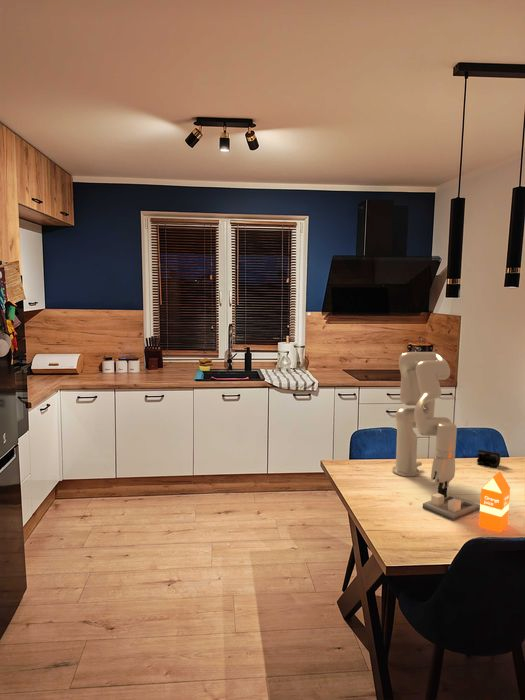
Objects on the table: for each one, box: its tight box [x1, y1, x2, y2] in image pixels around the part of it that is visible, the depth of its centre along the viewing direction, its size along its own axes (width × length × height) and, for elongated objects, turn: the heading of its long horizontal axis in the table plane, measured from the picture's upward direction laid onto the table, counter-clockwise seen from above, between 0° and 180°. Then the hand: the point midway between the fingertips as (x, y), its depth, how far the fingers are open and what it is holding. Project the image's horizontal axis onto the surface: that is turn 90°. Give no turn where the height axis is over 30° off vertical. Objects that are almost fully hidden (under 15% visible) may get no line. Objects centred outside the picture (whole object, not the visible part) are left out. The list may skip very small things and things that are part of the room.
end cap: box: [476, 449, 502, 469], centre depth 258 cm, size 10×7×7 cm
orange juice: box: [478, 471, 511, 533], centre depth 189 cm, size 8×9×20 cm
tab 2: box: [448, 498, 461, 513], centre depth 199 cm, size 4×3×4 cm
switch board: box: [422, 493, 480, 522], centre depth 204 cm, size 18×14×2 cm
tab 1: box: [430, 492, 444, 506], centre depth 204 cm, size 4×3×4 cm
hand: (442, 496), depth 207 cm, fingers closed
